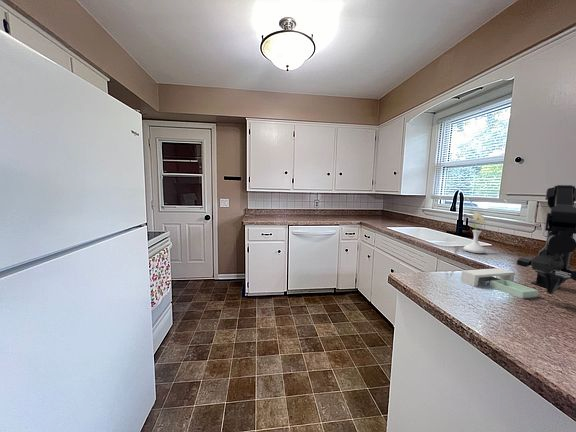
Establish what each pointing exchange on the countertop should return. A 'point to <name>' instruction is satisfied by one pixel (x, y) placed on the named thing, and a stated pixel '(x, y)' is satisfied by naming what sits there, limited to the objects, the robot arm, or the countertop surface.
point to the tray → (514, 289)
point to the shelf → (486, 276)
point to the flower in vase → (476, 236)
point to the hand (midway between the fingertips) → (550, 293)
